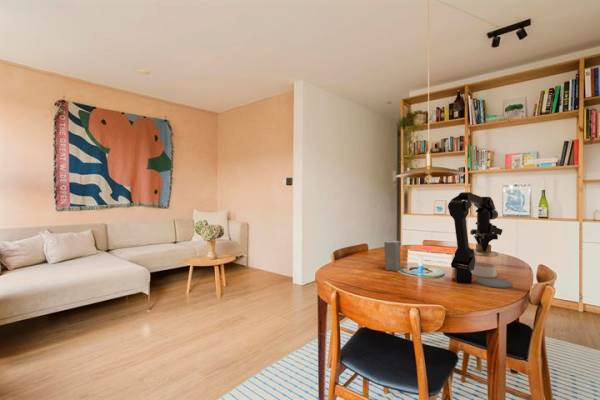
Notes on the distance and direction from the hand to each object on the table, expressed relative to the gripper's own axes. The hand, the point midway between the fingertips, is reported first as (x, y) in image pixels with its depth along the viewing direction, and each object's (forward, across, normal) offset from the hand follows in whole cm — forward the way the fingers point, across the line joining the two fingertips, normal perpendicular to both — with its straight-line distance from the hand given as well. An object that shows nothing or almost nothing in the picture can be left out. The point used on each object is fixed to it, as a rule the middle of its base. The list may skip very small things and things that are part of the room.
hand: (483, 250), depth 156 cm
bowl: (+12, 0, 0) cm, 12 cm away
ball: (+10, 0, 0) cm, 10 cm away
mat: (+12, -16, +2) cm, 20 cm away
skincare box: (+13, +5, +45) cm, 47 cm away
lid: (+2, 0, 0) cm, 2 cm away
